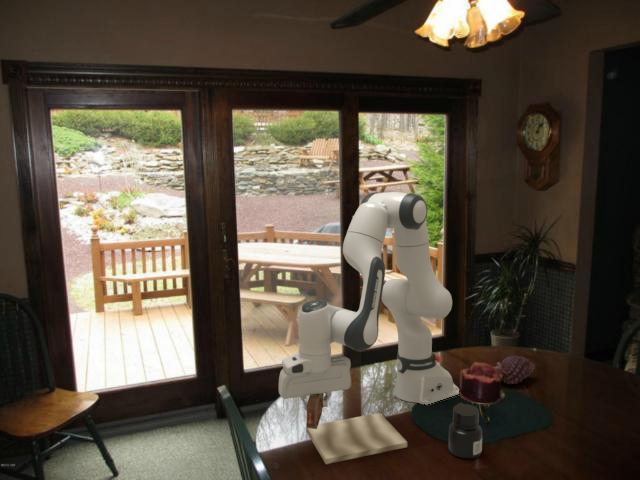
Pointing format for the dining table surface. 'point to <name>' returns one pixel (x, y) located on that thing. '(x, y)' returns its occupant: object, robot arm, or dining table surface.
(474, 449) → the ink bottle
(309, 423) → the tin
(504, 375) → the pine cone
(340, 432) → the birch board
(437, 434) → the dining table surface
